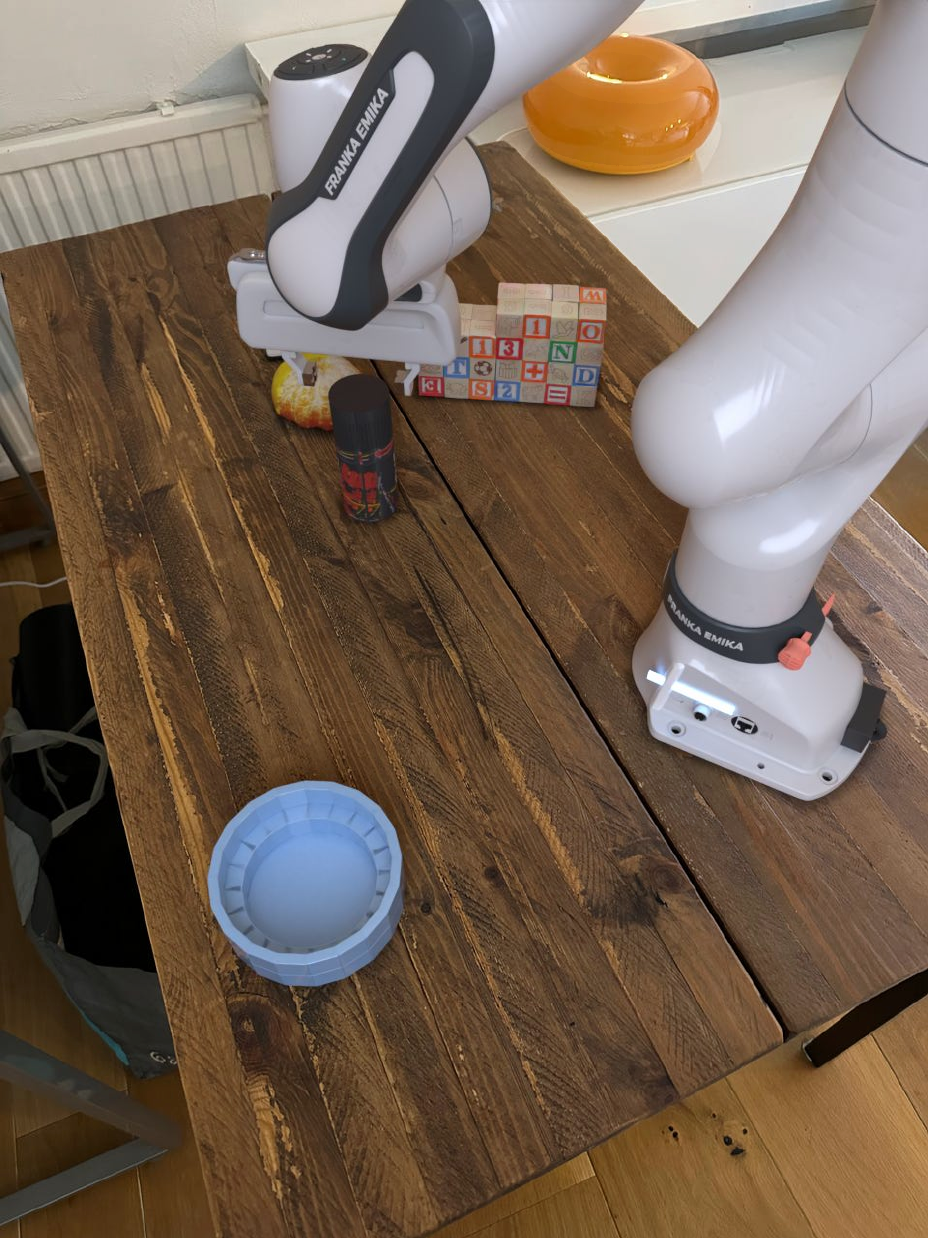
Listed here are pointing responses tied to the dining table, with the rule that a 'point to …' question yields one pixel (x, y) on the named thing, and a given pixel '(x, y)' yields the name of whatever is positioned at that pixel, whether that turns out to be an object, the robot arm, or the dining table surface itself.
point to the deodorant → (364, 446)
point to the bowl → (308, 882)
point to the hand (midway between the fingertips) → (356, 386)
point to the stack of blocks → (527, 347)
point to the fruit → (309, 391)
